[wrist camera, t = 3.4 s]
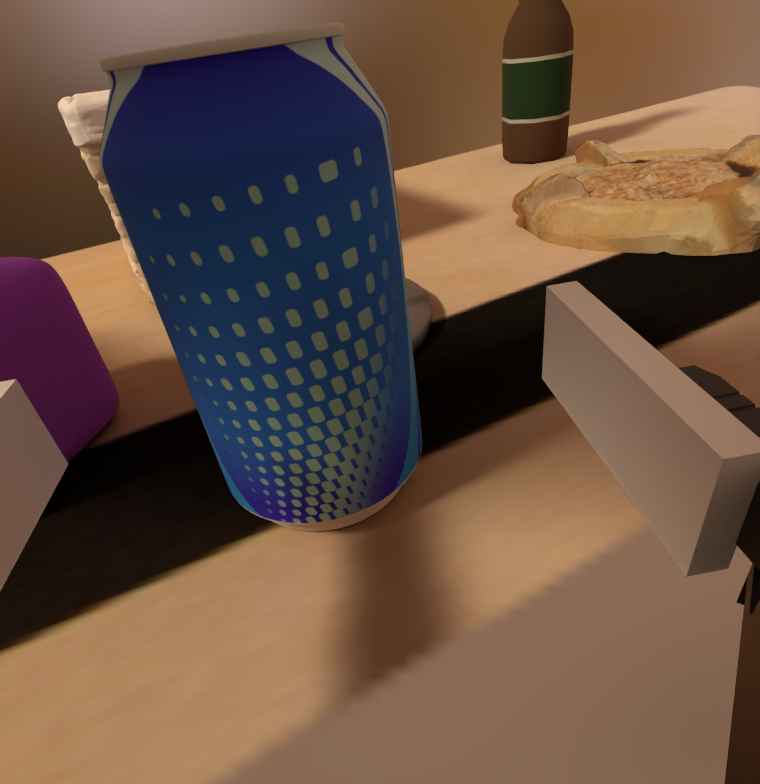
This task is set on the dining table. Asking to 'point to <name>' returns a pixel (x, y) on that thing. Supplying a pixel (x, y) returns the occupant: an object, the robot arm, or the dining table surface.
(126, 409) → the dining table surface
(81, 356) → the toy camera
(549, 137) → the beer bottle
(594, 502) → the dining table surface
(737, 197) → the ashtray
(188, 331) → the beer can
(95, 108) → the storage basket
